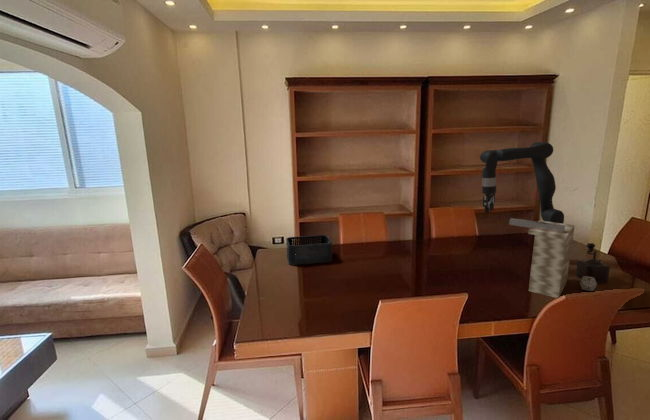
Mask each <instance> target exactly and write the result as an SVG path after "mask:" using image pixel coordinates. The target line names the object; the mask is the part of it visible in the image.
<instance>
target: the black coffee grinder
mask: <svg viewBox="0 0 650 420" xmlns="http://www.w3.org/2000/svg"><path fill="white" fill-rule="evenodd" d="M586 247H587V248H588V249H587V251H586V254H587V255H591V256H592V255H593V257H592V258H591V259H586V260H585V259H581V260H577V262H576V263H577V265H576V273H575V276H576V277H577V278H578V277H579V279H580V280H581V278H582V277H583V275H584V276H589V277H594V276H595V280H596V283H597V284H607V283H609V282H608V281H609V277H610V276H609V275H610V270H611V266H610V265H608V264H606V263H604V262H603V261H602V259H596V256H597V252H598V251H597V250H594V248H595V247H596V244H595V243H593V242H589V243H586ZM582 274H583V275H582Z"/></svg>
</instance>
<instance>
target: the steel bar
mask: <svg viewBox="0 0 650 420" xmlns="http://www.w3.org/2000/svg"><path fill="white" fill-rule="evenodd" d="M508 225H510V226H516V227H522V228H528V229H530V228H535V229H542V230H549V231H556V232H562V233H564V231H565V225H559V224H552V223H544V222H538V221H535V220H528V219H522V218H515V217H514V218H513V217H511V218H509V224H508Z"/></svg>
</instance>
